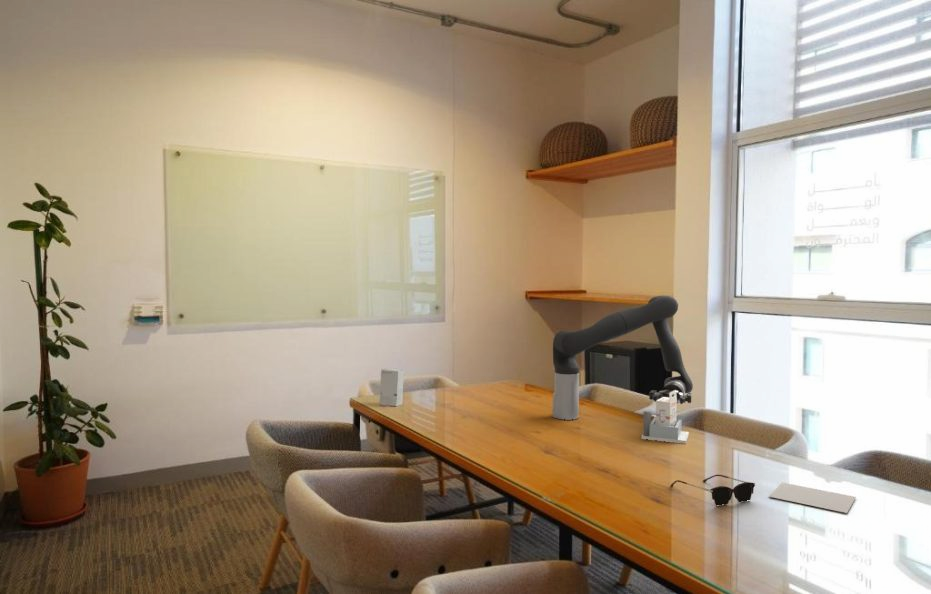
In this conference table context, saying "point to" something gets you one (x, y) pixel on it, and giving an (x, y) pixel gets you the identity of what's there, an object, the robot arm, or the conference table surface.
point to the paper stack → (813, 497)
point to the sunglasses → (727, 491)
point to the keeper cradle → (662, 431)
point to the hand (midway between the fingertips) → (668, 400)
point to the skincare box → (391, 387)
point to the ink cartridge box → (667, 410)
